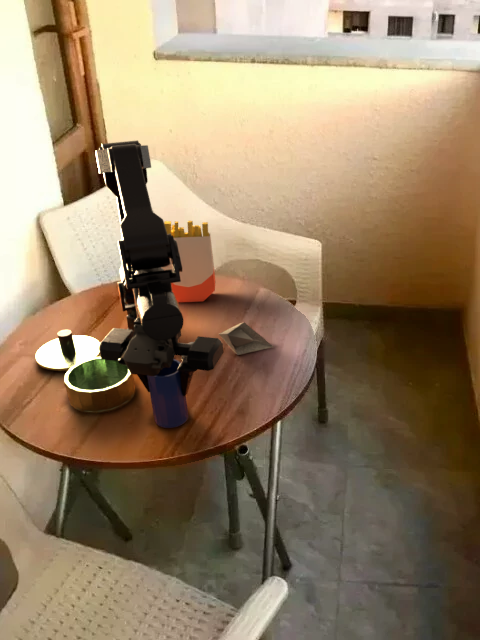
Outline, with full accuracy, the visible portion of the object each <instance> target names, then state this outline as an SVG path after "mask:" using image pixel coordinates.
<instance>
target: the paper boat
mask: <svg viewBox="0 0 480 640" xmlns="http://www.w3.org/2000/svg"><path fill="white" fill-rule="evenodd" d="M218 336H220V338H221V339H222V340H223V341H224V343H225V344H226V345H227V346H228V347H229V348H230V349H231V351H232V352H233V353H234V354H236V355H237V356H239V355H245V354H249V353H253V352H257V351H262V350H267V349H271V348H274V345H273V344H271V343H270V342H268V340H266V338H264V337H263V336H262V335H260V334H259V333H258V332H257V331H256V330H254V328H252V327H251V326H250V325H248V324H247V322H245V321H243V322H240V323H238V324H236V325H234V326H232V327H230V328H228V329H226V330H224V331H222V332H220V333H218Z"/></svg>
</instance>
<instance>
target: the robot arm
mask: <svg viewBox="0 0 480 640" xmlns="http://www.w3.org/2000/svg"><path fill="white" fill-rule="evenodd" d="M95 158H96V164H97V168H98V174H103V179H104V183H105V187H106V188H107V189H108V190H109V191H110V192H111V193H112V194H113V195H114V196H115V198H116V204H117V205H116V206H117V210H118V217H119V227H120V233H121V234H120V235H121V239H119V240H117V247H118V251H119V256H120V261H121V266H120V268H119V270H118V271H119V279H120V281H117V288H118V295H119V300H120V301H119V302H120V305H121V309H122V312H126V314H127V315H126V316H125V317H126V322H127V328H119V327H113V328H111V330H110V331H109V332H108V333H107V334H106V336H105V337H104V338H103V339H101V341H99V343H100V344H99V353H100V355H99V357H101V359H103V360H113V361H118V360H119V359H120V360H119V361H118V362H119V364H121V365H126V366H127V367H128V370H129V372H130V373H131V374H133V375H137V377H138V378H139V380H140V381H141V383H142V385H143V386H144V388H145V389H146V391H147V393H150V390H149V384H148V378H147V375H148V376H156V375H157V374H158V373H159V372H160V370H162V369H163V368H164V367H168V368H169V367H171V365H172V362H173V359H175V357H176V356H177V357H179V356H180V357H181V360H182V361H181V362H180V363H181V364H180V365H179V367H178V368H177V370H178V371H179V372H180V376H181V390H182V394H183V396H186V397H187V394H188V392H189V389H190V386H191V382H192V379H193V376H194V373H195V372H196V373H197V371H207V372H210V371H212V370H214V369H215V368H216V366H217V365H218V363H219V361H220V359H221V358H222V356H223V355H224V352H225V351H224V343H223V342H222V340H220V338H218V337H209V336H200V335H198V336H197V337H196V338H195V339H194V341H190V342H188V343H186V342H180V339H181V338H182V330H183V328H184V316H183V313H182V311H181V308H180V305H179V302H177V300H176V297H175V295H174V293H173V292H172V285H171V283H175V282H181V279H180V273H179V272H182V264H181V259H180V255H179V250H178V245H177V241H176V240H174V238H173V236H172V235H171V234H167V231H166V228H165V224H164V222H165V220H164V219H163V218H162V217H161V216H160V215H158V214H156V213H155V212H154V211H153V207H152V203H151V199H150V195H149V191H148V187H147V184H148V182H149V181H148V179H149V178H148V171H147V169H151V168H152V163H151V156H150V149H149V145H148V144H146V145H145V144H144V145H142V144H141V143H140V141H139V140H128V141H118V142H107V143H106V142H105V143H101V146H99V147H98V149H97V150H95ZM170 258H171V261H172V266H173V270H174V272H172V270H171V269H169V270H163V269H162V268H161V267H167V266H168V265H170Z"/></svg>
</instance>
